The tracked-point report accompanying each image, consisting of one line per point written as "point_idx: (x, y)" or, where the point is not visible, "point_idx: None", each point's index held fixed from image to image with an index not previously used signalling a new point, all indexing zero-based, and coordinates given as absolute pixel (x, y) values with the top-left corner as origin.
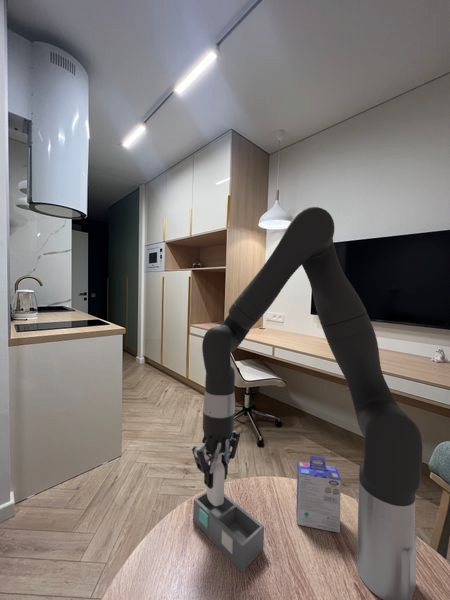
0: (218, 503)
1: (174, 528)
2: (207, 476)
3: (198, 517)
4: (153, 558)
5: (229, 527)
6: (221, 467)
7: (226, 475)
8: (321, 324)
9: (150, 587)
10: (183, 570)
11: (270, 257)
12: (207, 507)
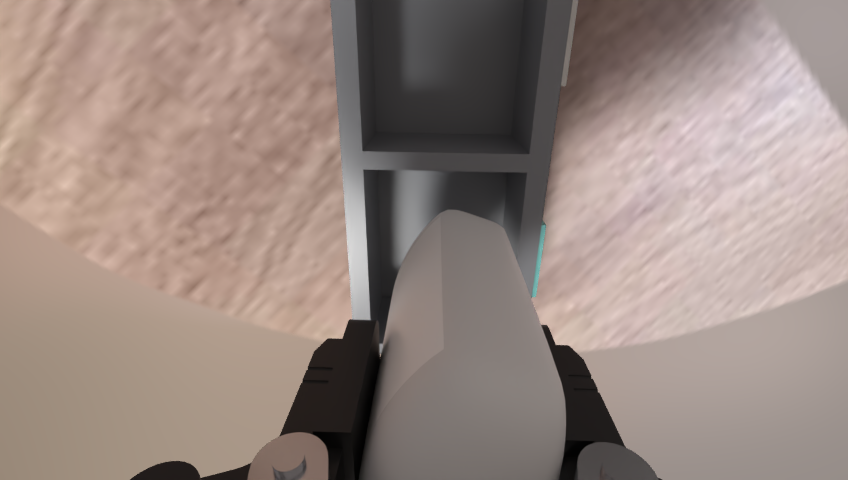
0: (490, 223)
1: (587, 311)
2: (613, 435)
3: None
4: (741, 262)
5: (429, 129)
6: (466, 443)
7: (346, 340)
8: None
9: (840, 175)
10: (711, 138)
11: None
12: None
